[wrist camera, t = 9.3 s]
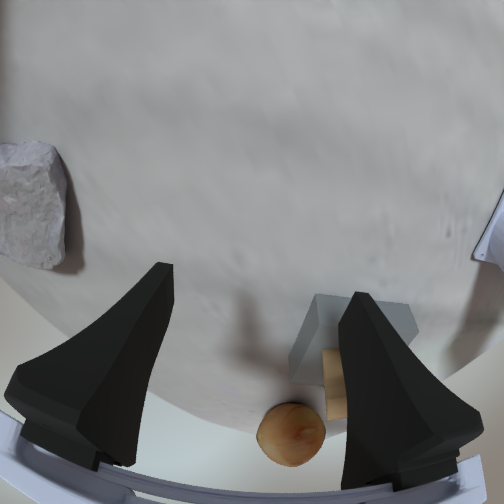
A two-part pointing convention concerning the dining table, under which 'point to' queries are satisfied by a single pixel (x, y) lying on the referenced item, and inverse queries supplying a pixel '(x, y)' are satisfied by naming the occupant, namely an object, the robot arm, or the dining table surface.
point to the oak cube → (334, 385)
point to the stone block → (32, 204)
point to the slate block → (335, 334)
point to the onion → (291, 434)
